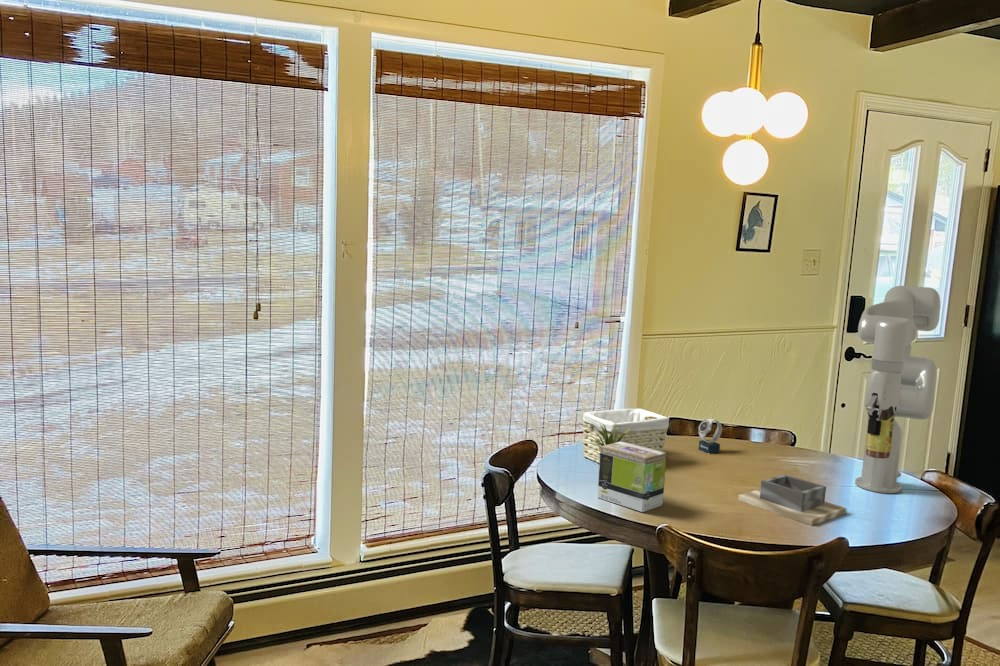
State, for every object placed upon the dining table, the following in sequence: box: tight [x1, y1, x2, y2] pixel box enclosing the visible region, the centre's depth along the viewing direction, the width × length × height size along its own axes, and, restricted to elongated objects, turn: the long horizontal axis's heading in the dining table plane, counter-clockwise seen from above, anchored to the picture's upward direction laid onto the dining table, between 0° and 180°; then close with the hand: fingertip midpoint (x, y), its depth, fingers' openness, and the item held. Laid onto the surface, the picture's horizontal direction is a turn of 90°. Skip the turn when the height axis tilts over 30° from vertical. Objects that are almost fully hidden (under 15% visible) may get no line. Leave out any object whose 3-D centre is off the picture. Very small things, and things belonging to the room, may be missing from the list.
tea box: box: [597, 441, 667, 513], centre depth 216 cm, size 15×10×15 cm
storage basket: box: [582, 407, 670, 464], centre depth 256 cm, size 24×16×15 cm
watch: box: [697, 418, 723, 454], centre depth 271 cm, size 6×8×11 cm
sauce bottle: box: [864, 406, 895, 459], centre depth 215 cm, size 7×6×20 cm
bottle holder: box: [737, 474, 847, 527], centre depth 218 cm, size 17×22×6 cm
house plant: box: [587, 423, 632, 465], centre depth 238 cm, size 14×14×16 cm
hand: (879, 432), depth 215 cm, fingers closed on sauce bottle, 6 cm apart
